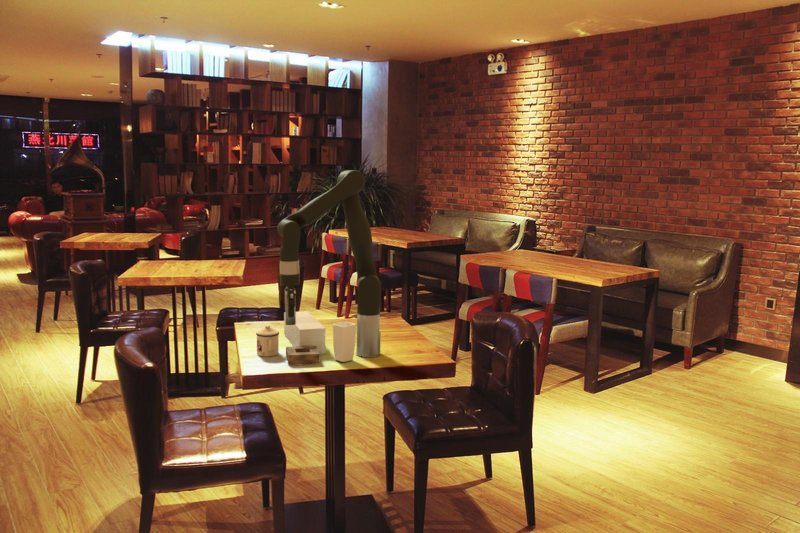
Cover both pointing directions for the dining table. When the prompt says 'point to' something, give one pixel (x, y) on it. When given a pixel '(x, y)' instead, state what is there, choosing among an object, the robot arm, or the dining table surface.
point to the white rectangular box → (306, 331)
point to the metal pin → (287, 319)
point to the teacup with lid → (267, 341)
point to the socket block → (302, 355)
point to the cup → (344, 341)
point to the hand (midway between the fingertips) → (290, 315)
